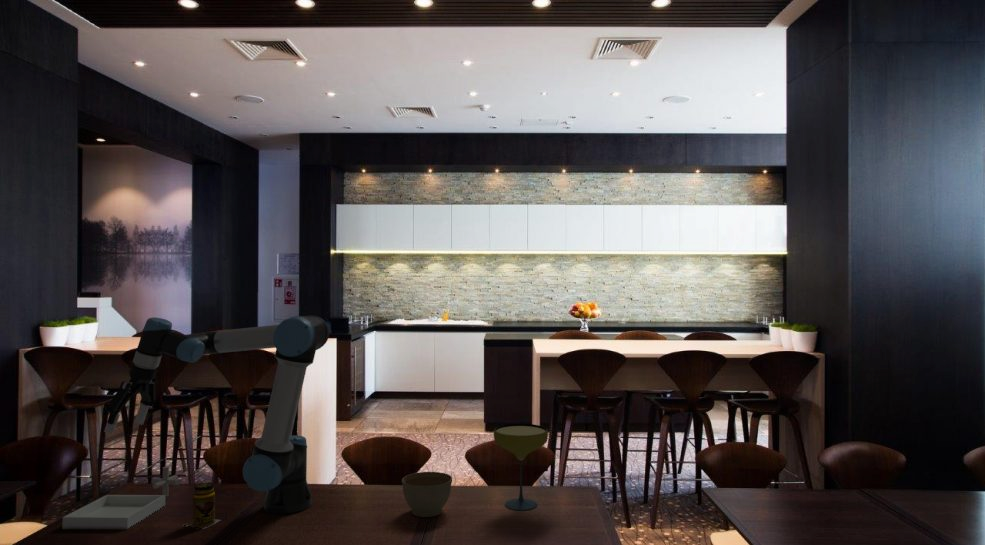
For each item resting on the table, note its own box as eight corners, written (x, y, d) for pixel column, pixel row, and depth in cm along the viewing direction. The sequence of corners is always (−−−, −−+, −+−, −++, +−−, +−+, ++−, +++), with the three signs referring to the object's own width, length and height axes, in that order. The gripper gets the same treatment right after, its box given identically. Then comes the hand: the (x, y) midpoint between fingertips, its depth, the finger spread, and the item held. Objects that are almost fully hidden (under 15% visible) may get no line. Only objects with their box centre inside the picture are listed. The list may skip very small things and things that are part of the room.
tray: (165, 505, 202) (165, 495, 202) (127, 529, 182) (127, 517, 182) (106, 505, 202) (106, 494, 202) (62, 529, 182) (62, 517, 182)
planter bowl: (462, 511, 195) (462, 477, 195) (424, 526, 183) (424, 490, 184) (429, 500, 206) (429, 468, 206) (391, 513, 194) (391, 479, 195)
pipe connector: (167, 501, 205) (167, 472, 206) (142, 500, 207) (142, 470, 208) (187, 492, 215) (188, 464, 215) (163, 490, 217) (163, 462, 217)
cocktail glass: (533, 518, 189) (533, 438, 189) (484, 508, 198) (483, 431, 198) (557, 501, 204) (556, 426, 205) (510, 492, 213) (509, 421, 214)
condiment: (204, 529, 181) (204, 489, 182) (181, 526, 184) (182, 486, 184) (221, 520, 188) (222, 481, 189) (200, 517, 191) (200, 479, 191)
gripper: (159, 357, 206) (140, 416, 206) (106, 366, 181) (83, 433, 181) (179, 364, 205) (159, 423, 205) (128, 374, 180) (105, 441, 180)
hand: (124, 428), depth 193 cm, fingers open, 13 cm apart
